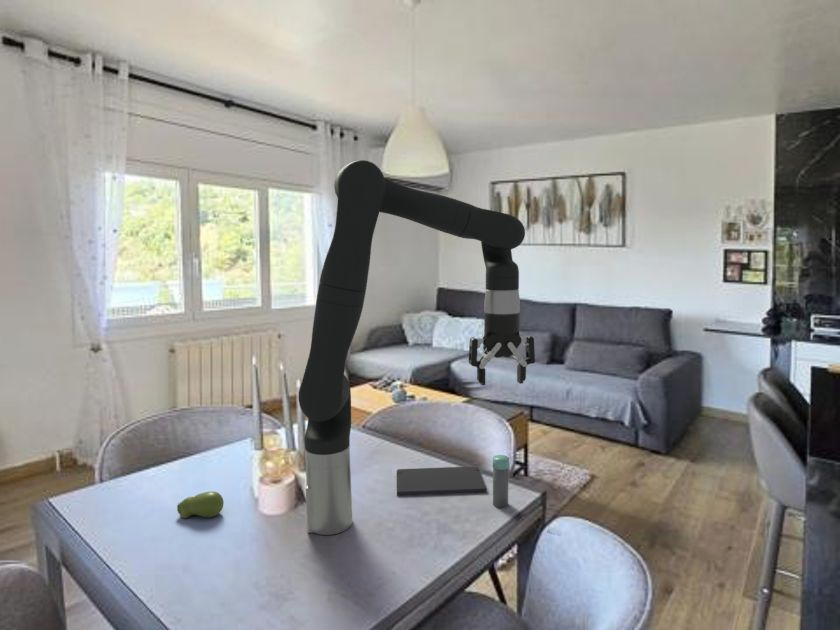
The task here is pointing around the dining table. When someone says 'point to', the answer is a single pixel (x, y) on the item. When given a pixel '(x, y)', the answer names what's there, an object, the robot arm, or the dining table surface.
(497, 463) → the marker
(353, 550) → the dining table surface
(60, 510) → the dining table surface
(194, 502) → the pear
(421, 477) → the notebook
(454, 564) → the dining table surface
